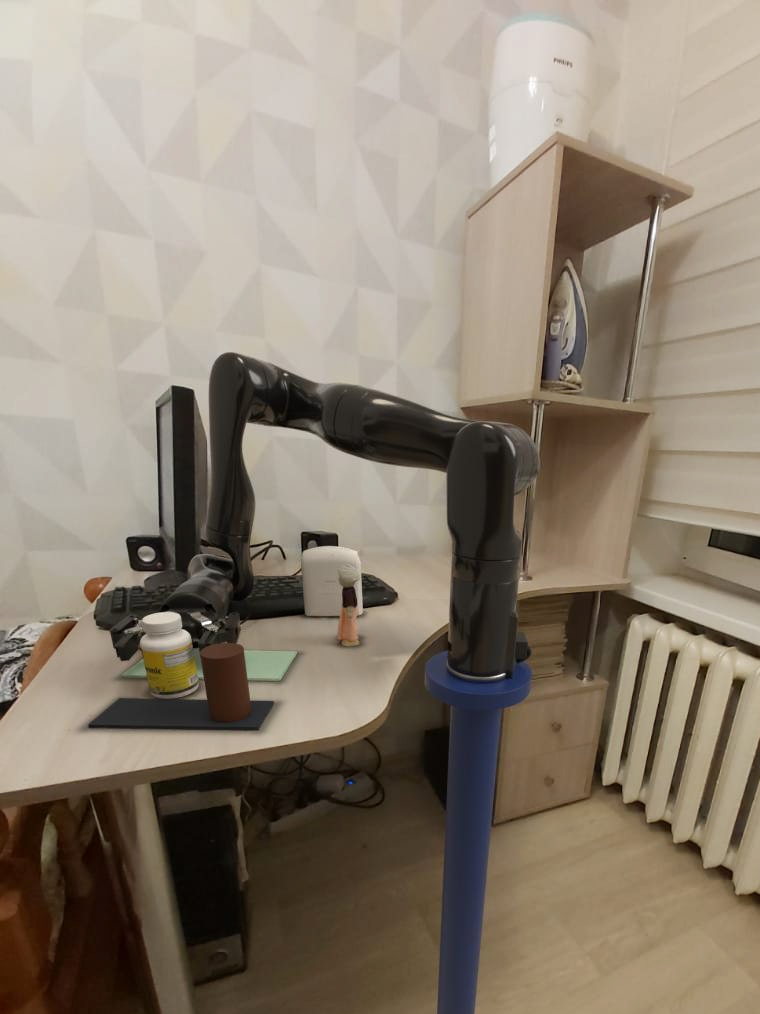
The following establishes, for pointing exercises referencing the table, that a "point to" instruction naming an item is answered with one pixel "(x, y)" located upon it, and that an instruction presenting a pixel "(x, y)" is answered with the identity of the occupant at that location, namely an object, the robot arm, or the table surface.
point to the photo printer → (327, 579)
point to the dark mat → (174, 715)
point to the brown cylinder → (226, 682)
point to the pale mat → (257, 665)
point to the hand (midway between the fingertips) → (163, 652)
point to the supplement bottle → (168, 656)
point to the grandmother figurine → (348, 605)
